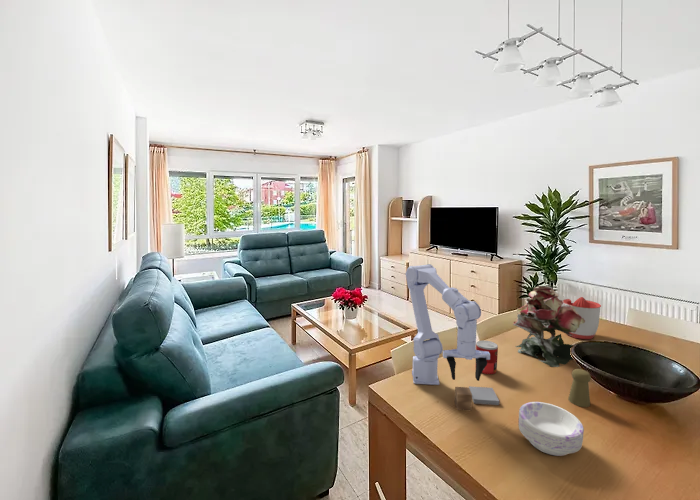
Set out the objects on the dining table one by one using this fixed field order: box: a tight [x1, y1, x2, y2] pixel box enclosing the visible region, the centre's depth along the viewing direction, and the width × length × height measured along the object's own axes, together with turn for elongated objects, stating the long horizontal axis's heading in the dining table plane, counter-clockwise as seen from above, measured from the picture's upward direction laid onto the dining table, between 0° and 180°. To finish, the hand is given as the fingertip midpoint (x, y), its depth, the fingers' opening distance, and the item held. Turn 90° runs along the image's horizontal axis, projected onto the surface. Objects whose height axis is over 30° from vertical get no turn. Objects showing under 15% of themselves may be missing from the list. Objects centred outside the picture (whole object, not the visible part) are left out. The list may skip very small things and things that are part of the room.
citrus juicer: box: [562, 296, 602, 340], centre depth 165 cm, size 16×17×20 cm
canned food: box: [476, 339, 499, 375], centre depth 131 cm, size 8×8×11 cm
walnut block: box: [454, 386, 473, 412], centre depth 108 cm, size 4×4×6 cm
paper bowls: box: [518, 401, 585, 457], centre depth 91 cm, size 15×15×8 cm
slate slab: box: [468, 385, 500, 406], centre depth 113 cm, size 8×8×2 cm
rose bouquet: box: [512, 285, 585, 368], centre depth 148 cm, size 26×29×30 cm
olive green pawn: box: [568, 368, 592, 408], centre depth 109 cm, size 6×6×11 cm
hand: (465, 378), depth 108 cm, fingers open, 7 cm apart
